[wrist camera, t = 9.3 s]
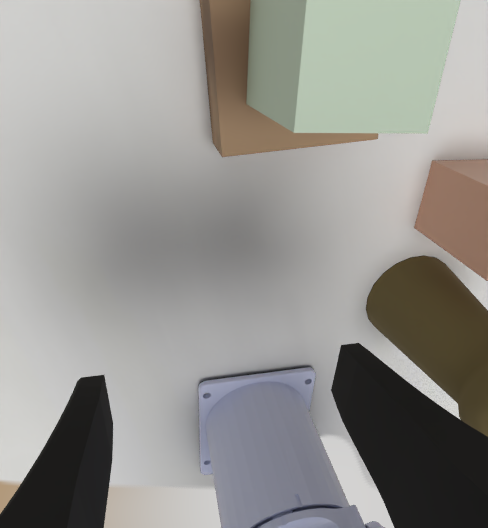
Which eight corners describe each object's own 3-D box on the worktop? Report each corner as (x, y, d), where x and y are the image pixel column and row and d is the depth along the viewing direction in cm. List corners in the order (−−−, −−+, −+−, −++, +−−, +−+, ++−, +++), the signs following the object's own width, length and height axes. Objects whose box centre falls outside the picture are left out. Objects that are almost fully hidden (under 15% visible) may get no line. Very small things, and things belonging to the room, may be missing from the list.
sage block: (340, 105, 17) (427, 133, 12) (246, 103, 16) (293, 133, 11) (357, -11, 15) (470, -41, 10) (251, -20, 14) (312, -57, 9)
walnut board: (348, 125, 20) (377, 139, 18) (211, 140, 19) (222, 156, 17) (361, -48, 17) (400, -62, 14) (194, -42, 16) (204, -56, 13)
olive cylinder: (400, 244, 24) (559, 377, 15) (468, 269, 27) (643, 399, 17) (349, 322, 27) (460, 479, 17) (416, 339, 29) (545, 486, 20)
